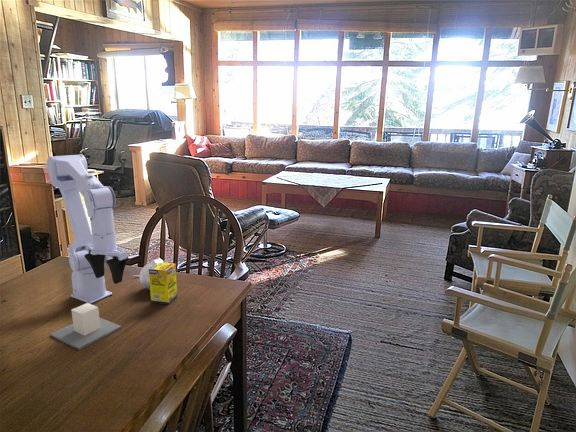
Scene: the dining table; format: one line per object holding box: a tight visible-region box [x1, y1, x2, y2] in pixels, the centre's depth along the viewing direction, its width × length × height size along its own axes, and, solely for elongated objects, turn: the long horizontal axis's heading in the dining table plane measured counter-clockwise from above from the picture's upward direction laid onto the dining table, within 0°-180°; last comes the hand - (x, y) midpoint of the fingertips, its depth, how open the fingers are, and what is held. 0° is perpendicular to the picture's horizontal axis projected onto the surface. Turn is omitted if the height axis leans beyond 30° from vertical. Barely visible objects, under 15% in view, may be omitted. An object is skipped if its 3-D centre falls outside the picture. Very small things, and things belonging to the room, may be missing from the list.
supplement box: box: [149, 261, 178, 305], centre depth 126 cm, size 6×6×11 cm
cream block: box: [71, 302, 101, 336], centre depth 108 cm, size 4×4×6 cm
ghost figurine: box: [138, 258, 165, 291], centre depth 133 cm, size 9×9×10 cm
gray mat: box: [49, 316, 122, 351], centre depth 108 cm, size 12×12×1 cm
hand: (108, 279), depth 115 cm, fingers open, 7 cm apart
